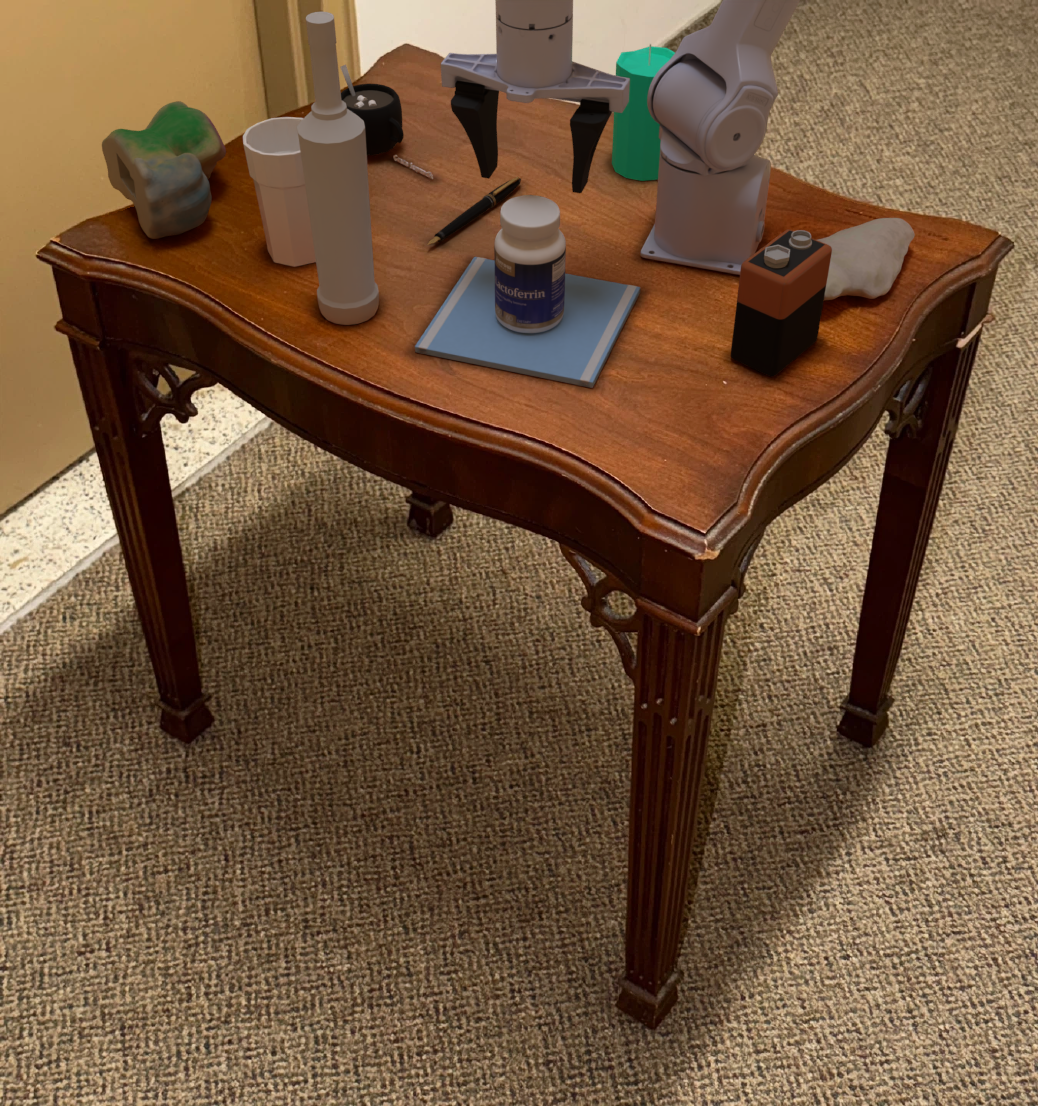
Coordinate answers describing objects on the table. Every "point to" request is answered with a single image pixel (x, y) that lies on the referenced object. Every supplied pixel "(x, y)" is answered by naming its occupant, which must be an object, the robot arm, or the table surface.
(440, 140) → the table surface
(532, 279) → the pill bottle
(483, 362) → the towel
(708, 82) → the robot arm
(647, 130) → the candle
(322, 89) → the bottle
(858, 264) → the stone tool
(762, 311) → the battery
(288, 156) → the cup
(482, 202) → the fountain pen
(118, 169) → the sculpture
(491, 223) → the table surface
